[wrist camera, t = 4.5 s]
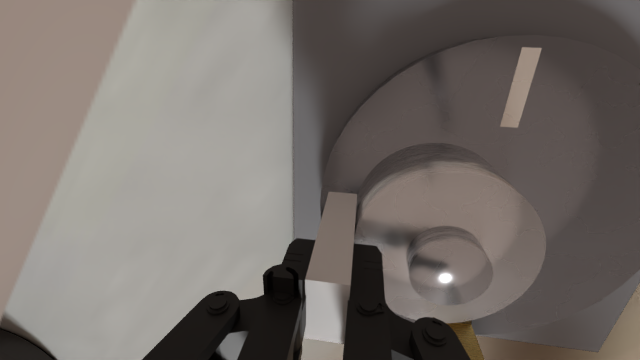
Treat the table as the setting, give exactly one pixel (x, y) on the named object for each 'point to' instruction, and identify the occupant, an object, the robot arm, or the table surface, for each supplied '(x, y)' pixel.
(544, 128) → the turntable
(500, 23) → the turntable base
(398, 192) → the cover
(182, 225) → the table surface
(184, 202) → the table surface
